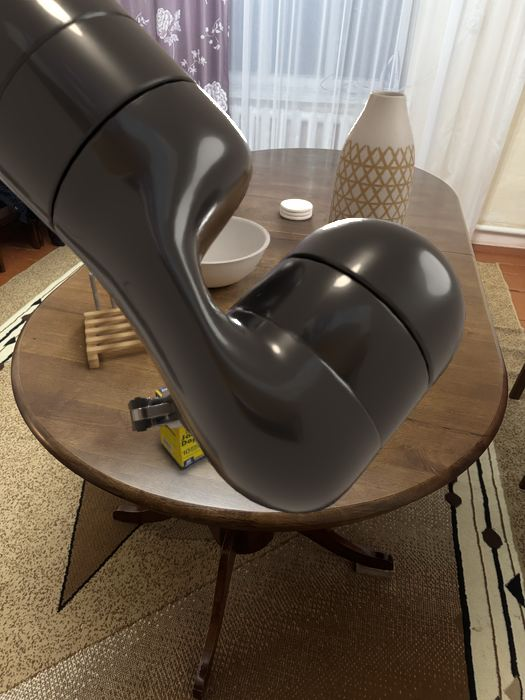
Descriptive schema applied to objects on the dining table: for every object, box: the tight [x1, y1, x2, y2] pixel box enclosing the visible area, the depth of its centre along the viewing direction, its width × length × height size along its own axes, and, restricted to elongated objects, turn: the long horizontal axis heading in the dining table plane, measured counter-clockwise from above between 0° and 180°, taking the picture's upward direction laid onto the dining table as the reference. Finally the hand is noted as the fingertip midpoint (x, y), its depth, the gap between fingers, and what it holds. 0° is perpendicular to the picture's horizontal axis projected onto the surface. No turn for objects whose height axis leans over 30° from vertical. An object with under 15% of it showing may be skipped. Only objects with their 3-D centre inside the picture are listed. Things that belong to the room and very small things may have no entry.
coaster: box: [279, 198, 314, 222], centre depth 144 cm, size 10×10×4 cm
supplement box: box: [154, 385, 206, 470], centre depth 65 cm, size 6×6×11 cm
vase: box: [327, 90, 416, 226], centre depth 111 cm, size 19×18×38 cm
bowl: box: [201, 215, 271, 288], centre depth 108 cm, size 27×27×10 cm
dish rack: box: [83, 271, 144, 369], centre depth 87 cm, size 18×16×11 cm
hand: (202, 404), depth 48 cm, fingers open, 8 cm apart
